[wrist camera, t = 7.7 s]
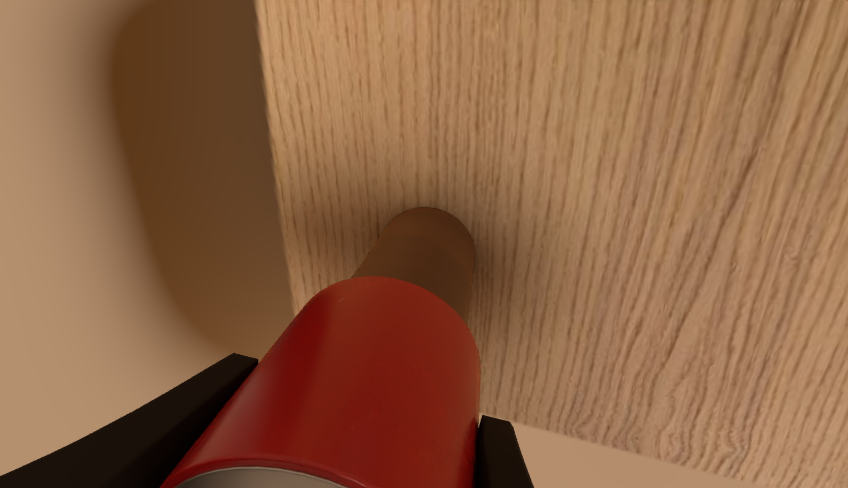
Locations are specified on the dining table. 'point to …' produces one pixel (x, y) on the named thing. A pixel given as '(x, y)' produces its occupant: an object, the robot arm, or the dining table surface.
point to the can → (351, 399)
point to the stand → (426, 256)
